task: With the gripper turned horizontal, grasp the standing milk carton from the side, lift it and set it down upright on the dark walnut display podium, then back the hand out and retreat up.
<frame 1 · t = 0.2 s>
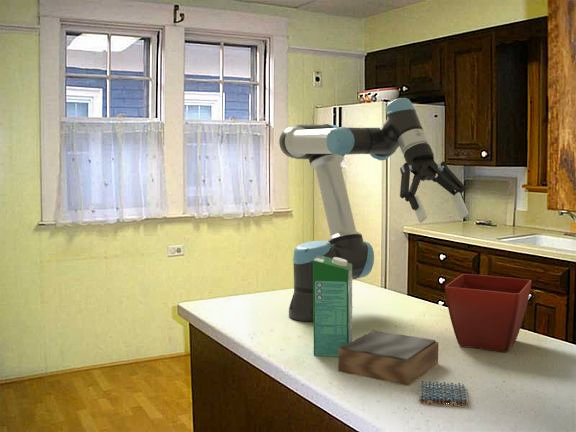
hand: (444, 218, 173), 35 cm above the worktop, tool tilted 35°, fingers open, 13 cm apart
woven mat: (442, 399, 144), on the worktop
plant pot: (487, 344, 182), on the worktop
podium: (389, 367, 163), on the worktop
milk carton: (333, 351, 177), on the worktop
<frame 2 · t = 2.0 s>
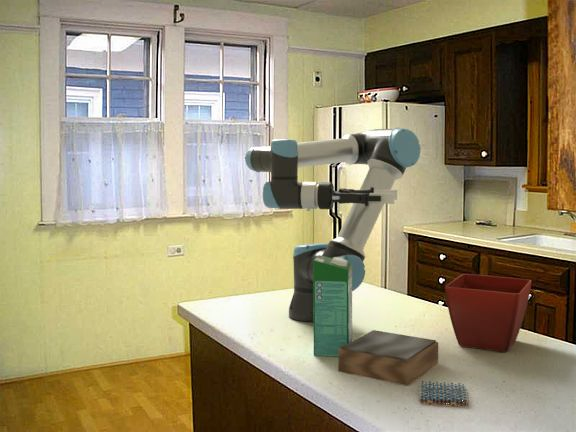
hand: (395, 196, 182), 40 cm above the worktop, tool horizontal, fingers open, 13 cm apart
nothing on the worktop moved.
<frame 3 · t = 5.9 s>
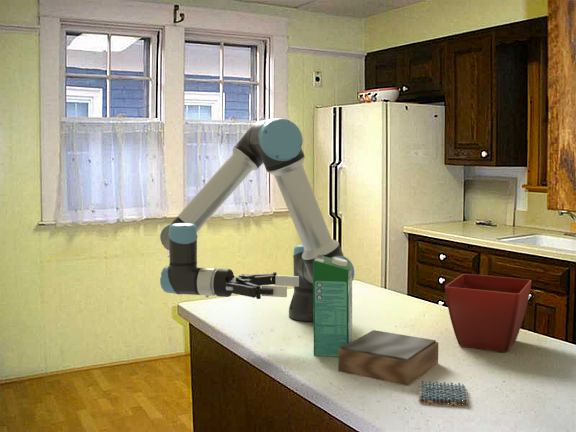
hand: (293, 286, 177), 17 cm above the worktop, tool horizontal, fingers open, 13 cm apart
nothing on the worktop moved.
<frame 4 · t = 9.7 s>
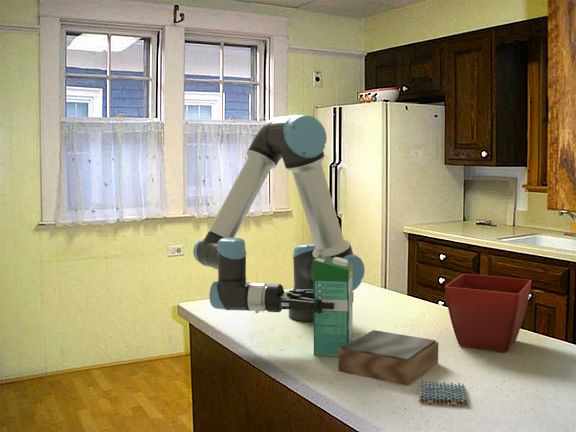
hand: (350, 301, 174), 14 cm above the worktop, tool horizontal, fingers closed on milk carton, 9 cm apart
milk carton: (333, 351, 177), on the worktop, touching gripper
everything else where it was.
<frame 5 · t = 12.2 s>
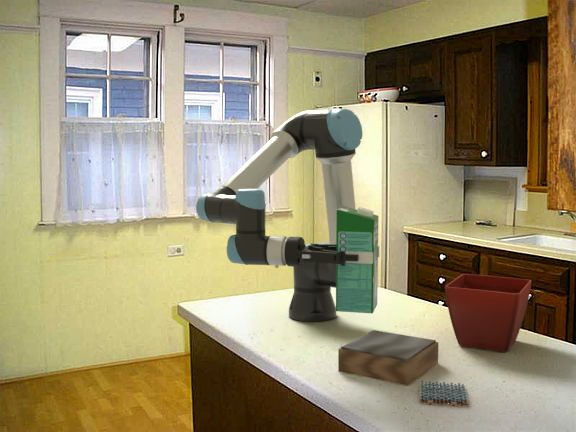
hand: (376, 254, 163), 27 cm above the worktop, tool horizontal, fingers closed on milk carton, 9 cm apart
milk carton: (356, 308, 166), point 14 cm above the worktop, touching gripper
everything else where it was.
when the fingers open (21 cm above the worktop, at t = 14.6 s): milk carton drops 1 cm, resting on podium.
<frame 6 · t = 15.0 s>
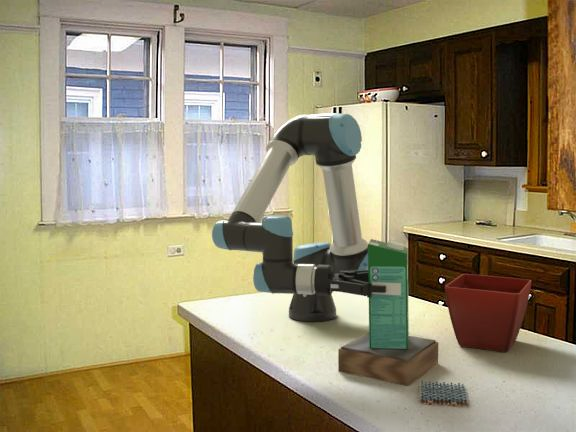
hand: (403, 283, 160), 21 cm above the worktop, tool horizontal, fingers open, 13 cm apart
milk carton: (389, 344, 162), point 6 cm above the worktop, touching podium
everything else where it was.
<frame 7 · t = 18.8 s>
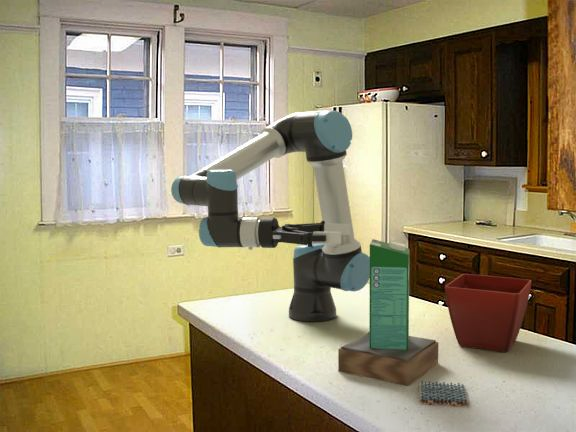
hand: (345, 233, 161), 33 cm above the worktop, tool horizontal, fingers open, 13 cm apart
nothing on the worktop moved.
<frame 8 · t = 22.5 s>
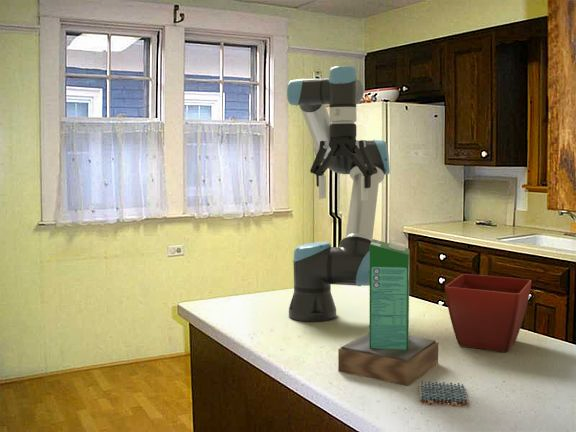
hand: (343, 199, 189), 39 cm above the worktop, tool pointing down, fingers open, 13 cm apart
nothing on the worktop moved.
at the end: milk carton inside the target area on the podium (0.3 cm from its centre), point 5.8 cm above the podium's base; milk carton tilted 0°; the gripper is holding nothing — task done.
